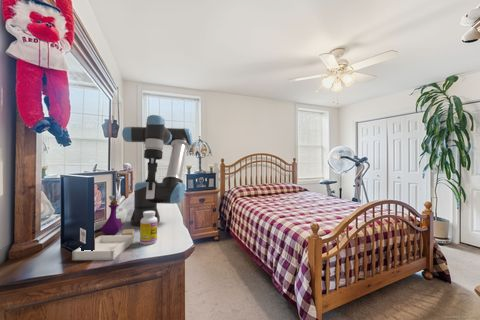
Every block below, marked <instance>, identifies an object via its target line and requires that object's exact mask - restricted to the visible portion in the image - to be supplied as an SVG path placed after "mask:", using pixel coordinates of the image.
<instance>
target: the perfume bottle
mask: <svg viewBox="0 0 480 320" xmlns="http://www.w3.org/2000/svg"><path fill="white" fill-rule="evenodd" d="M108 197H109V198H108V199H109V200H110V204H109V205H108V207H109V209H110V214H109V217H108V218H107V220H106V221H105V222H104V224H103V226H101V228H100V231H101V232H102V234H103V235H104V236H117V234H118V233H119V232H120V230H121V229H122V227H123V226H124V223H123V222H121V221H120V220H119V218H117V216H116V210H117V208H118V207H119V204H118V200H115V199H116V197H117V195H109V196H108Z"/></svg>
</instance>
